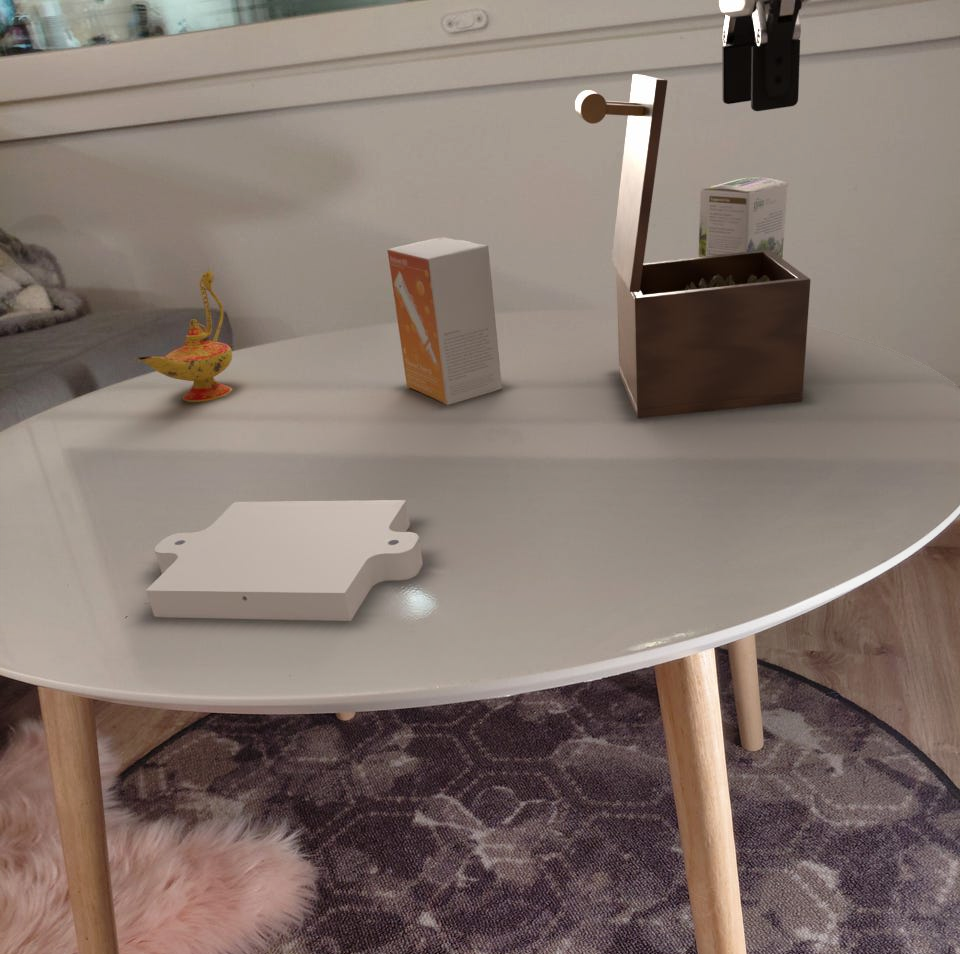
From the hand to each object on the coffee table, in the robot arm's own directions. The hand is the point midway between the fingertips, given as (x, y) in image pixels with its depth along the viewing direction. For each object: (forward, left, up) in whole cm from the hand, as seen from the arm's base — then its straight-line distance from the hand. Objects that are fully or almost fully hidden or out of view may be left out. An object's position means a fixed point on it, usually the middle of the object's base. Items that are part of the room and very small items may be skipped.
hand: (757, 104), depth 74 cm
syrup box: (-5, -14, -22) cm, 26 cm away
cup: (+1, -1, -21) cm, 21 cm away
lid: (+8, -3, -5) cm, 10 cm away
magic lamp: (+49, -23, -22) cm, 59 cm away
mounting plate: (+40, +20, -22) cm, 50 cm away
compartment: (+3, -2, -22) cm, 22 cm away
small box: (+24, -13, -22) cm, 35 cm away
